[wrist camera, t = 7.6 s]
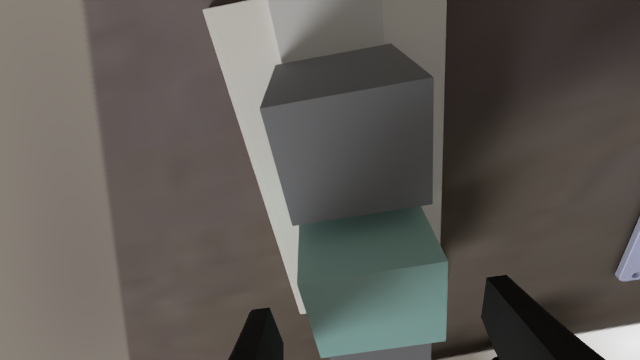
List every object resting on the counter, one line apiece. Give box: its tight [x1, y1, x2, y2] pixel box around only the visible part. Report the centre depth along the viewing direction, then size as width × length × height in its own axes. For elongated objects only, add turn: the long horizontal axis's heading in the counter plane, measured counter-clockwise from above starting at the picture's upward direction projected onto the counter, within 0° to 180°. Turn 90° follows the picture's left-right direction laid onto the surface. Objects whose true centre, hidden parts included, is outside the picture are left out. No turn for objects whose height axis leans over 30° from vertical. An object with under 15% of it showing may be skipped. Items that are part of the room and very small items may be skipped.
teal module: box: [297, 206, 448, 358], centre depth 14 cm, size 4×4×6 cm
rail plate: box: [203, 0, 447, 360], centre depth 15 cm, size 9×18×6 cm, turn 10°
